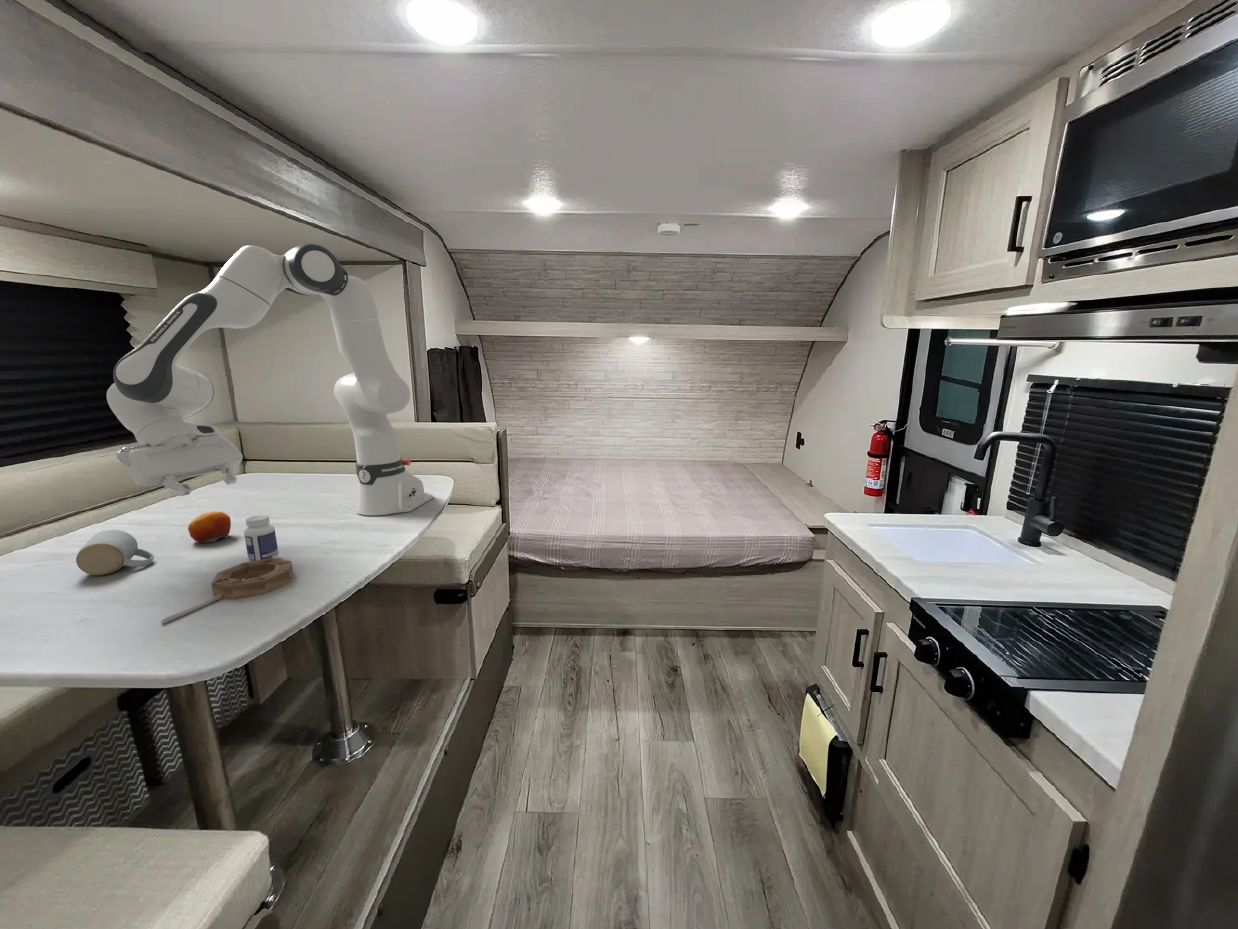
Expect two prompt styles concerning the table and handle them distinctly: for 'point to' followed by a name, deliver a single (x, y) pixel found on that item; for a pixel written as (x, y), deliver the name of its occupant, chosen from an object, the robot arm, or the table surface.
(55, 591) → the table surface
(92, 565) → the ceramic mug
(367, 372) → the robot arm
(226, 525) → the fruit
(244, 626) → the table surface
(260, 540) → the pill bottle
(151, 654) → the table surface
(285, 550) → the table surface
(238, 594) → the walnut ring
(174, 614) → the grey rod
